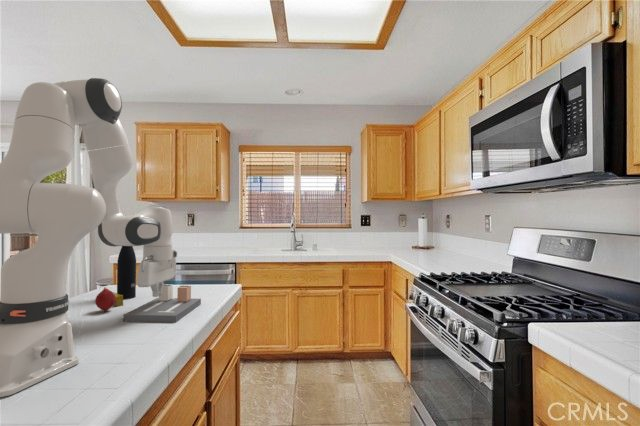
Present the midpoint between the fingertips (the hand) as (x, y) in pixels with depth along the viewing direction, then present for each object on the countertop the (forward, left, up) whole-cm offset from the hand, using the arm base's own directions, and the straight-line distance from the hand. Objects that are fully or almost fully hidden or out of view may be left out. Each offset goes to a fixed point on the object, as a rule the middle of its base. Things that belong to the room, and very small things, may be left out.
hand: (157, 296), depth 119 cm
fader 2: (+6, -7, -3) cm, 10 cm away
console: (-1, -3, -5) cm, 6 cm away
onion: (-1, +17, -5) cm, 18 cm away
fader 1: (+7, 0, -3) cm, 8 cm away
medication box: (+10, +21, -6) cm, 24 cm away
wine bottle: (+19, +21, -5) cm, 29 cm away
